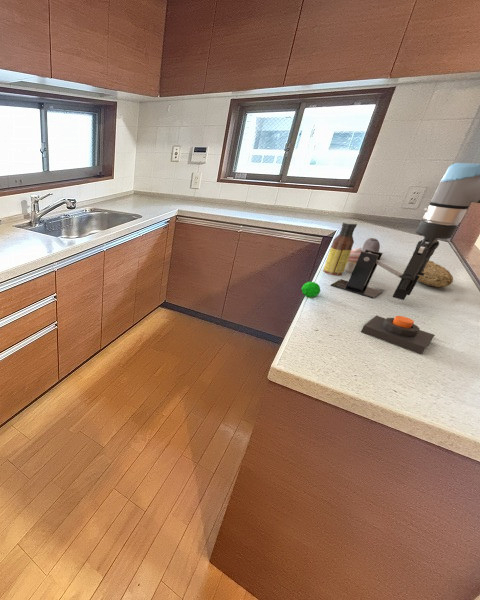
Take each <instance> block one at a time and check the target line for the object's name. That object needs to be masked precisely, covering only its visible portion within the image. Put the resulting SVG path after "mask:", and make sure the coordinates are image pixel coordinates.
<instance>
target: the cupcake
mask: <svg viewBox="0 0 480 600" xmlns="http://www.w3.org/2000/svg"><path fill="white" fill-rule="evenodd" d="M362 251H363V249H362V248H361V247H356V248H352V250H351V253H350V256H349V258H348V261H347V264H346V266H345V269H344V272H343V273H348V274H352V272H353V270H354V267H355V265H356V263H357V261H358V258H359V256H360V254H361V252H362Z"/></svg>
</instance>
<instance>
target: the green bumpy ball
mask: <svg viewBox="0 0 480 600" xmlns="http://www.w3.org/2000/svg"><path fill="white" fill-rule="evenodd" d="M320 292H321V287H320V285H319V284H318V283H317V282H315V281H307V282H305V283H304V284H303V285H302V286H301V293H302V294H303V295H304V296H305V297H307V298H315V297H317V296H318V295H320Z"/></svg>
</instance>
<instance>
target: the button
mask: <svg viewBox="0 0 480 600" xmlns="http://www.w3.org/2000/svg"><path fill="white" fill-rule="evenodd" d="M393 318H394V320H393V322H392V323H393V324H395V325H397V326H400V327H403V328H411V327H412V325H413V324H415V321H414V320H413V319H412V318H409V317H406V316H402V315H396V316H395V317H393Z"/></svg>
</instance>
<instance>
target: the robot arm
mask: <svg viewBox="0 0 480 600" xmlns="http://www.w3.org/2000/svg"><path fill="white" fill-rule="evenodd" d="M472 203H475V204H480V163H474V162H473V163H472V162H454V163H452V164H450V165H449V166H448V167H447V169H446V171H445V173H444V175H443V176H442V178H441V179H440V182H439V183H438V185H437V187H436V190H435V192H434V194H433V196H432V198H431V200H430V202H429V204H428V207H425V208H423V211H424V214H423V216H422V219H423V220H421V221H420V222H419V224H418V226H417V228H416V230H415V233H416V234H417V235H419V236H423V239H420V240H419V241H418V242H417V243H416V246H415V249H414V251H413V253H412V256H411V257H410V259H409V262H408V264H407V265H406V267H405V269H404V271H403V273H401V274H402V276H401V275H400V276H399V277H400V278H399V277H398V278H399V279H400V281H399V283H398V285H397V287H396V289H395V291H394V292H393V295H392V298H395V299H398V300H401V301H404V300H405V299H406V297H407V296H411V293H412V292H413V290H414V288H415V286H416V284H417V282H418V281H417V280H418V279H419V277H420V276H418V275H421V276H423V275H424V274H425V273H422V272H423V271H424V268H425V267H426V265H427V263H428V261H430V259H431V257H432V256H433V255H434V253H435V251H436V249H437V248H438V247H439V246H440V241H439V239H440V240H449V239H452V238H453V236H454V234H455V232H456V230H457V229H458V224H460V223H461V222H462V221H463V218H464V217H465V215H466V213H467V211H468V208H469V207H470V205H471V204H472ZM401 278H402V279H401ZM414 279H415V280H414Z"/></svg>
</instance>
